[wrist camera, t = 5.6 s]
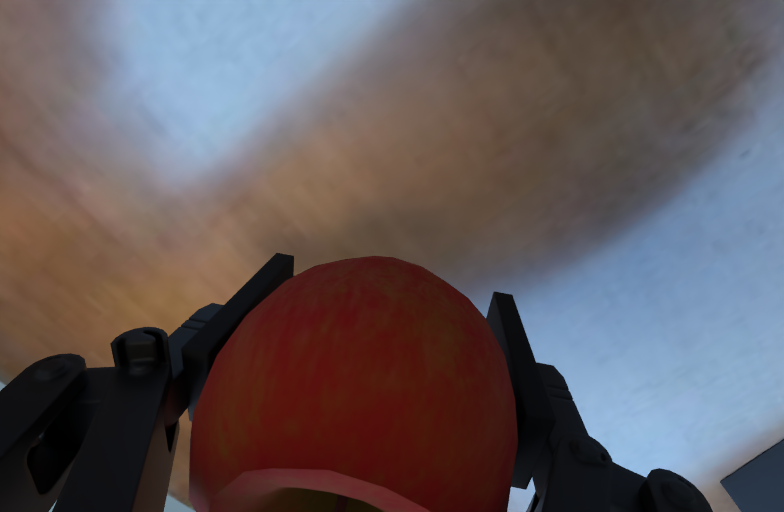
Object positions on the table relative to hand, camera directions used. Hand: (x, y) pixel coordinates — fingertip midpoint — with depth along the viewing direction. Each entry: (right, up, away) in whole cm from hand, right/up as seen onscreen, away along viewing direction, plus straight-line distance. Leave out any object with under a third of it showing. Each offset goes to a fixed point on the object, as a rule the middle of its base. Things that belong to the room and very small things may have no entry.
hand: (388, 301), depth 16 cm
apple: (0, 0, 0) cm, 1 cm away
